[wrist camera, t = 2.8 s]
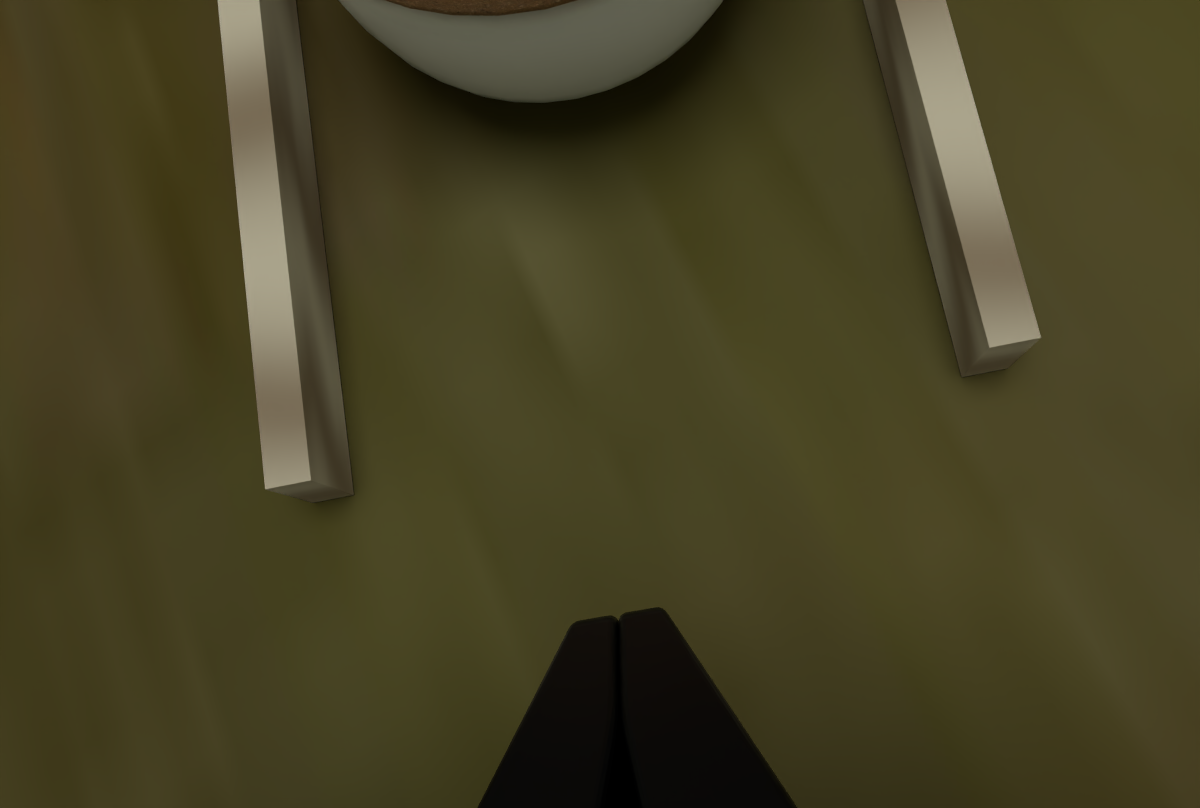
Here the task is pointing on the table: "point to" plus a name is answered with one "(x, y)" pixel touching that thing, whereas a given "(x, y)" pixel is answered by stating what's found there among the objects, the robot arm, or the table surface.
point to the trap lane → (298, 260)
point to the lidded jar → (533, 41)
